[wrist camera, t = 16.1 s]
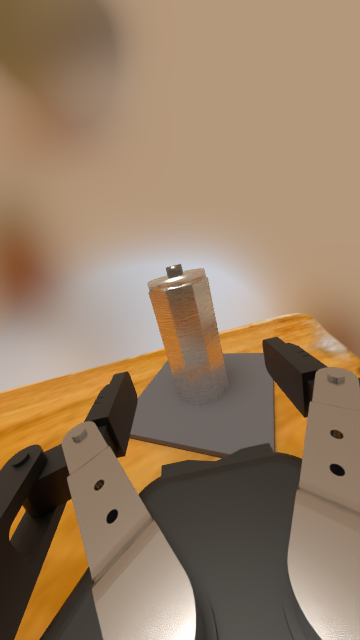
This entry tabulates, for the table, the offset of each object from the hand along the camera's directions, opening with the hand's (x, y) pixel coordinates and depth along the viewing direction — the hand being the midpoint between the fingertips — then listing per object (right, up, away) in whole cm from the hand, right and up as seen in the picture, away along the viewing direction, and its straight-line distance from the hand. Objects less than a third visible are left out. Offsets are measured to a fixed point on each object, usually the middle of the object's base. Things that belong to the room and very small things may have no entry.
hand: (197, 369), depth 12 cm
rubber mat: (+2, -6, +14) cm, 15 cm away
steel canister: (+2, -5, +13) cm, 15 cm away
